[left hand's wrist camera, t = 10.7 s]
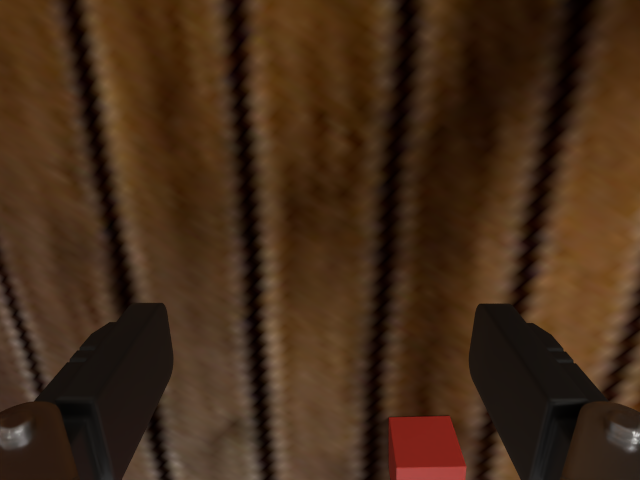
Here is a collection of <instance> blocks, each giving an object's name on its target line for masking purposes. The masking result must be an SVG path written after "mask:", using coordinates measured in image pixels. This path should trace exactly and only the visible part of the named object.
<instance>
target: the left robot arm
mask: <svg viewBox="0 0 640 480" xmlns="http://www.w3.org/2000/svg"><path fill="white" fill-rule="evenodd" d="M469 368H470V374H471V377H472V380H473V382H474V384H475V386H476V388H477V390H478V392H479V394H480V396H481V398H482V401H483V403H484V405H485V407H486V409H487V411H488V413H489V415H490V417H491V419H492V421H493V423H494V425H495V427H496V429H497V431H498V433H499V436H500V438H501V440H502V442H503V444H504V446H505V448H506V450H507V452H508V454H509V456H510V458H511V460H512V462H513V464H514V466H515V469H516V471H517V473H518V475H519V477H520V479H521V480H640V412H638V411H636V410H634V409H632V408H629V407H627V406H624V405H621V404H617V403H613V402H609V401H608V400H607V399H606V398H605V397H604V395H603V394H602V393H601V392H600V391H599V390H598V389H597V387H596V386H595V385H594V384H593V383H592V382H591V380H590V379H589V378H588V377H587V376H586V375H585V373H584V372H583V371H582V370H581V369H580V368H579V366H578V365H577V364H576V363H573V359H572V358H571V357H570V356H569V355H568V354H567V352H564V351H563V348H562V347H561V345H560V344H559V343H558V342H557V341H556V340H555V339H554V337H553V336H552V335H551V334H549V333H548V332H546V331H544V330H543V329H541V328H540V327H538V326H537V325H535V324H534V323H526V322H525V321H524V319H523V318H522V317H521V316H520V314H519V313H518V312H517V311H516V309H515V308H514V307H513V306H512V305H511V304H479V305H478V306H477V308H476V312H475V319H474V325H473V332H472V338H471V345H470V352H469ZM172 369H173V349H172V342H171V336H170V329H169V322H168V316H167V310H166V307H165V305H164V304H163V303H132V304H131V305H130V306H129V307H128V308H127V309H126V311H125V312H124V313H123V314H122V316H121V317H120V318H119V319H118V321H117V322H109V323H108V324H106V325H105V326H103V327H102V328H100V329H99V330H97V331H95V332H94V333H92V334H91V335H90V336H89V337H88V339H87V340H86V341H85V342H84V343H83V344H82V346H81V347H80V350H79V351H77V352H76V353H75V354H74V355H73V356H72V357H71V359H70V362H67V363H66V364H65V366H64V367H63V368H62V369H61V370H60V371H59V373H58V374H57V375H56V376H55V377H54V379H53V380H52V381H51V382H50V383H49V384H48V386H47V387H46V388H45V389H44V390H43V391H42V393H41V394H40V395H39V396H38V397H37V398H36V400H35V401H34V402H27V403H23V404H19V405H16V406H13V407H11V408H8V409H6V410H4V411H2V412H0V480H122V478H123V476H124V473H125V471H126V469H127V467H128V465H129V463H130V461H131V459H132V457H133V455H134V453H135V451H136V448H137V446H138V444H139V442H140V440H141V438H142V436H143V434H144V432H145V430H146V428H147V425H148V423H149V421H150V419H151V417H152V415H153V413H154V411H155V409H156V407H157V405H158V403H159V400H160V398H161V396H162V394H163V392H164V390H165V388H166V386H167V384H168V382H169V380H170V377H171V374H172Z"/></svg>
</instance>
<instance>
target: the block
mask: <svg viewBox="0 0 640 480" xmlns="http://www.w3.org/2000/svg"><path fill="white" fill-rule="evenodd" d="M389 473H390V480H465V475H466V464H465V461H464V458H463V455H462V452H461V449H460V446H459V443H458V440H457V437H456V434H455V431H454V428H453V424H452V421H451V418H450V416H424V417H389Z"/></svg>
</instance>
